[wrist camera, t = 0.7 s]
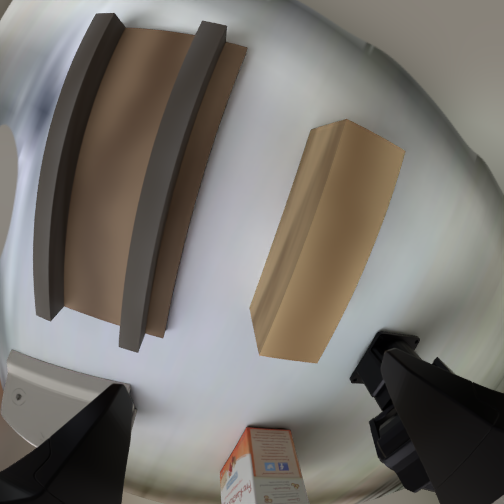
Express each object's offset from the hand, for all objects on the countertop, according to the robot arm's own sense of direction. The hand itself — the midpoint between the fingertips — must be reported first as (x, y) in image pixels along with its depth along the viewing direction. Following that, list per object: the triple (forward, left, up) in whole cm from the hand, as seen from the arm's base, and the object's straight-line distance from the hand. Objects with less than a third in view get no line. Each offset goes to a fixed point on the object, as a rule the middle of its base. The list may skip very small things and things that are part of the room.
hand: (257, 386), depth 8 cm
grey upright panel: (+14, +21, -13) cm, 28 cm away
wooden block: (-4, -3, -13) cm, 14 cm away
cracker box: (-9, +26, -13) cm, 30 cm away
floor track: (+10, -3, -12) cm, 16 cm away
